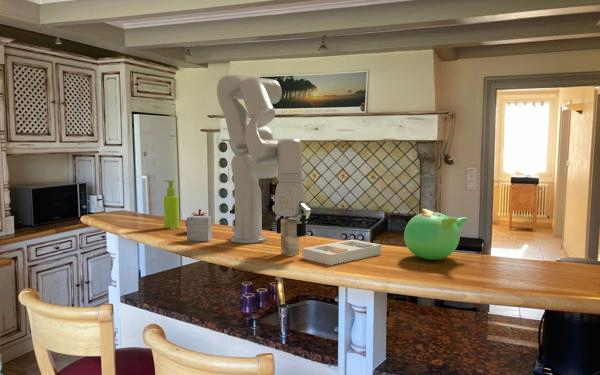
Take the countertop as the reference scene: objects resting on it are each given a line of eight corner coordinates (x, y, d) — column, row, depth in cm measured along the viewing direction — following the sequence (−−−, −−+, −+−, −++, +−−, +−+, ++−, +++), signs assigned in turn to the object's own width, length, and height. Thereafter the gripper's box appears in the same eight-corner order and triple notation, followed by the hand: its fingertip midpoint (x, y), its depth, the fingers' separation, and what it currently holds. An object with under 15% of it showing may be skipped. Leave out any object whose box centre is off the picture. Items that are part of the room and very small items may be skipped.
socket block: (302, 258, 143) (302, 247, 143) (352, 248, 158) (352, 238, 157) (330, 265, 134) (330, 253, 134) (381, 254, 148) (381, 243, 148)
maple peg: (281, 253, 149) (280, 218, 149) (290, 252, 152) (290, 217, 151) (289, 256, 146) (289, 220, 145) (299, 254, 149) (299, 219, 148)
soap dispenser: (173, 226, 205) (172, 179, 203) (181, 228, 200) (180, 180, 198) (160, 227, 201) (159, 180, 199) (169, 229, 196) (168, 180, 194)
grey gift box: (211, 239, 174) (211, 215, 173) (208, 241, 169) (208, 217, 169) (190, 239, 175) (190, 215, 174) (186, 241, 170) (186, 217, 170)
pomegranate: (183, 231, 191) (182, 208, 190) (207, 229, 195) (207, 207, 195) (189, 235, 182) (188, 211, 181) (214, 233, 186) (214, 209, 186)
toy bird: (412, 250, 154) (413, 205, 153) (467, 255, 146) (468, 208, 145) (396, 261, 138) (397, 211, 137) (457, 268, 131) (458, 215, 129)
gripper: (263, 179, 151) (264, 233, 152) (299, 180, 138) (300, 239, 139) (282, 178, 156) (282, 230, 157) (318, 179, 143) (318, 236, 144)
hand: (291, 234), depth 148 cm, fingers open, 9 cm apart
